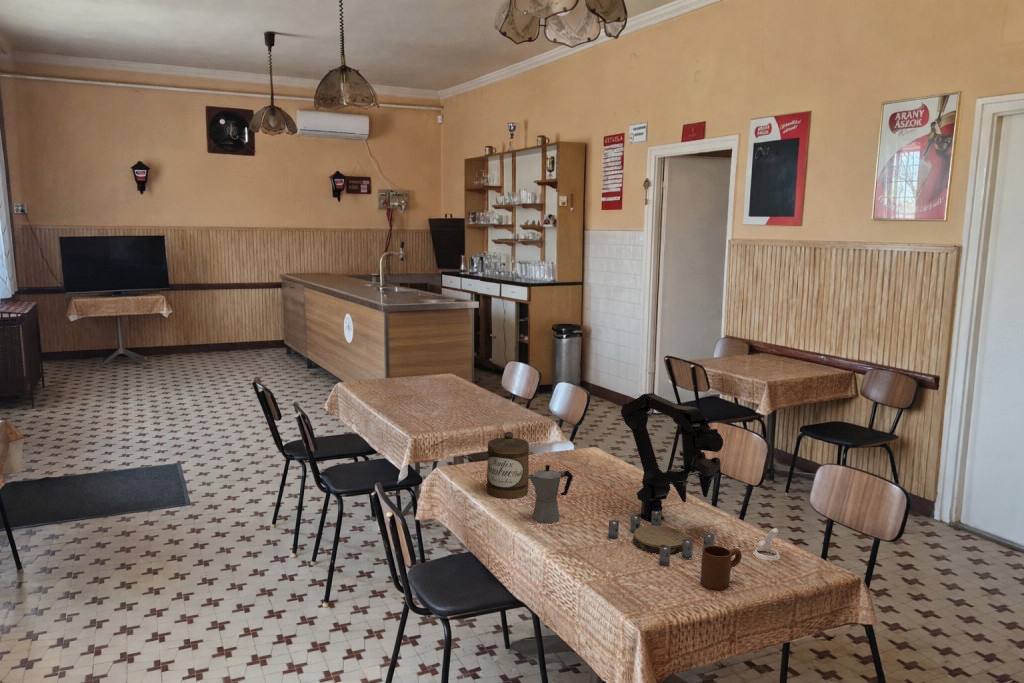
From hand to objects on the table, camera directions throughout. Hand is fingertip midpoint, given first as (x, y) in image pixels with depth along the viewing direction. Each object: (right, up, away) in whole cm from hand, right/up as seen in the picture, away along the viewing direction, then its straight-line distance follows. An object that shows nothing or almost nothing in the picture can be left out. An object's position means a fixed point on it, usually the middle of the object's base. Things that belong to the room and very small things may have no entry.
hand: (694, 499), depth 234 cm
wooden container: (-58, -5, +38) cm, 70 cm away
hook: (+18, -15, -12) cm, 26 cm away
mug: (0, -17, -29) cm, 34 cm away
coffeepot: (-44, -9, +14) cm, 47 cm away
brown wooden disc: (-12, -13, -5) cm, 18 cm away
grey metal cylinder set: (-12, -13, -5) cm, 18 cm away
